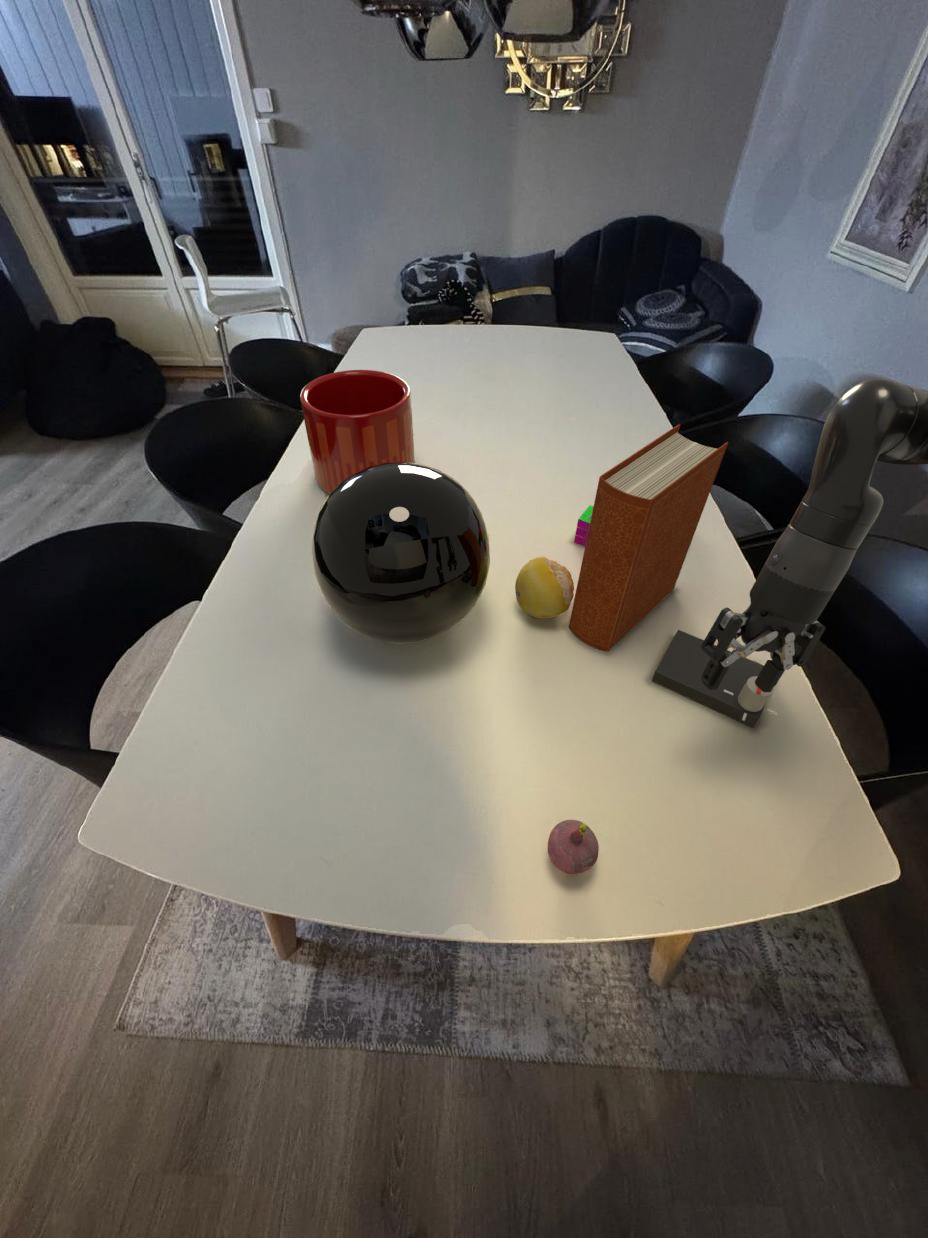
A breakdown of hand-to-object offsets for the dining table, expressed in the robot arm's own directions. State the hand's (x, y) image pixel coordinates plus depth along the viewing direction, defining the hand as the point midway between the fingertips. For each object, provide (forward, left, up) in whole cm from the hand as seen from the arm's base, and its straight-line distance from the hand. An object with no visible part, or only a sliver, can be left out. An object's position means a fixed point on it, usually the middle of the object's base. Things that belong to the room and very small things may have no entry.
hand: (735, 687), depth 71 cm
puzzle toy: (+34, -38, -16) cm, 53 cm away
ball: (+52, +1, -16) cm, 54 cm away
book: (+21, -22, -16) cm, 34 cm away
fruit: (+33, -14, -16) cm, 39 cm away
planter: (+88, -30, -16) cm, 94 cm away
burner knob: (-4, -11, -13) cm, 17 cm away
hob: (+1, -14, -15) cm, 21 cm away
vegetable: (+9, +24, -16) cm, 30 cm away
